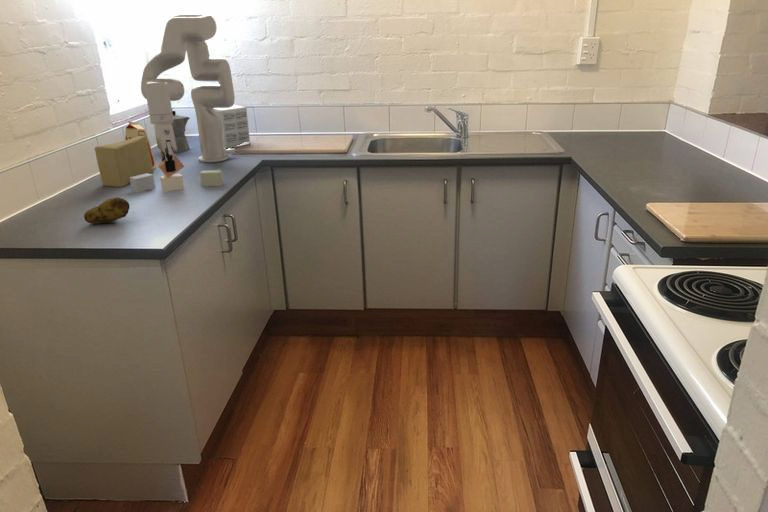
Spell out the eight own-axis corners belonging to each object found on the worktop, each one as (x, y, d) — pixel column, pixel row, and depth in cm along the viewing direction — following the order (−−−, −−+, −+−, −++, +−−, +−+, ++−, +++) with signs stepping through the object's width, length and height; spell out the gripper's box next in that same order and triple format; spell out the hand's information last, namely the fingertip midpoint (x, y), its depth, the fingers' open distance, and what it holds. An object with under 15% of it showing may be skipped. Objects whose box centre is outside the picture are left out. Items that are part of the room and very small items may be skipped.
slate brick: (149, 186, 212) (147, 173, 210) (155, 188, 210) (153, 174, 208) (132, 190, 207) (129, 177, 205) (137, 192, 205) (135, 179, 203)
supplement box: (209, 143, 280) (204, 106, 273) (233, 139, 288) (229, 103, 281) (226, 149, 268) (221, 110, 261) (251, 144, 277) (247, 106, 269)
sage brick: (223, 183, 215) (221, 170, 213) (220, 185, 212) (219, 172, 210) (204, 183, 215) (202, 170, 213) (201, 186, 211) (200, 173, 209)
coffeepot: (194, 147, 273) (189, 108, 266) (193, 151, 264) (187, 111, 257) (161, 148, 270) (154, 110, 262) (158, 153, 261) (151, 113, 254)
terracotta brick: (181, 164, 208) (173, 153, 205) (184, 166, 205) (175, 155, 202) (165, 175, 207) (157, 164, 204) (168, 178, 204) (159, 166, 201)
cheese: (142, 171, 232) (135, 134, 226) (162, 173, 229) (155, 135, 223) (101, 185, 213) (92, 145, 207) (121, 187, 210) (113, 147, 204)
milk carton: (145, 172, 230) (136, 122, 222) (124, 171, 232) (115, 121, 224) (157, 166, 238) (149, 118, 230) (138, 166, 240) (129, 117, 232)
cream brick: (181, 186, 211) (179, 173, 209) (184, 189, 208) (182, 175, 206) (162, 189, 208) (160, 176, 206) (164, 192, 205) (162, 178, 203)
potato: (100, 217, 180) (95, 193, 176) (136, 219, 177) (132, 195, 174) (82, 226, 172) (76, 201, 169) (120, 229, 170) (114, 203, 167)
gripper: (178, 120, 193) (186, 173, 200) (167, 114, 206) (174, 164, 213) (155, 122, 189) (164, 176, 196) (145, 116, 202) (153, 167, 210)
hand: (169, 169), depth 205 cm, fingers closed on terracotta brick, 3 cm apart
